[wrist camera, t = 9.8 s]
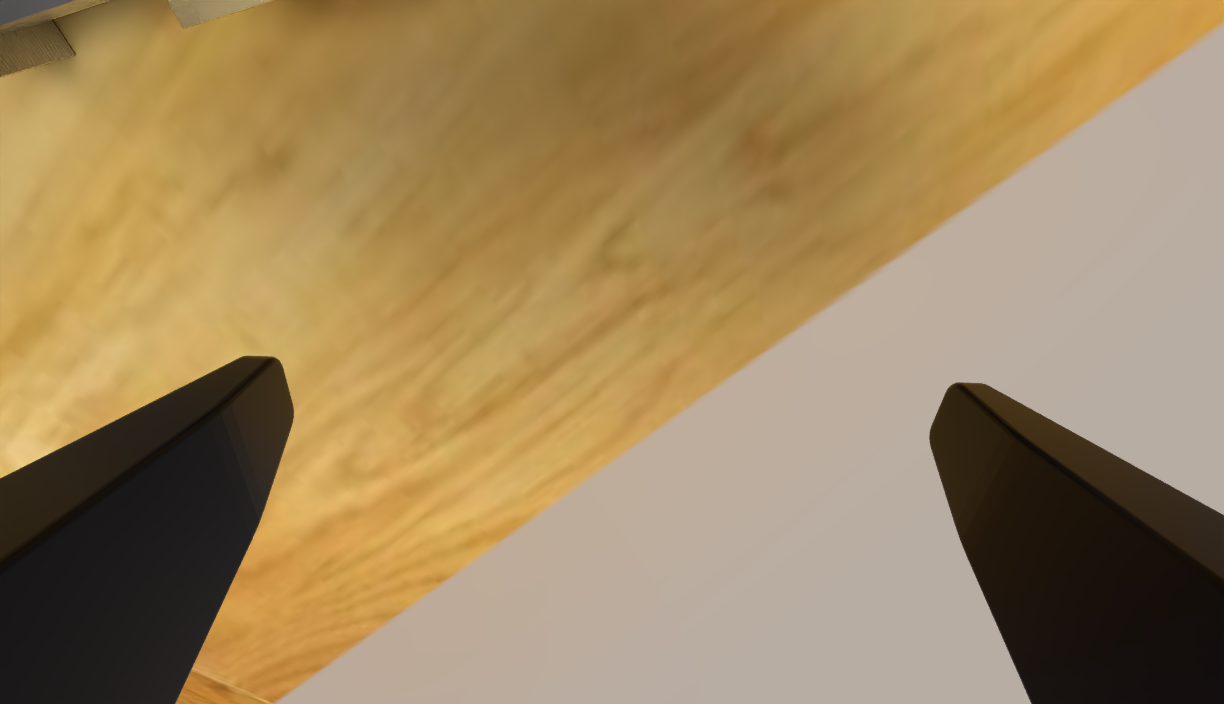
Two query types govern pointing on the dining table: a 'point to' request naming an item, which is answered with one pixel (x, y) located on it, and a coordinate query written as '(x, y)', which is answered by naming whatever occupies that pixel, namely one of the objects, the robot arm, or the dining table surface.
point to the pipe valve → (27, 3)
